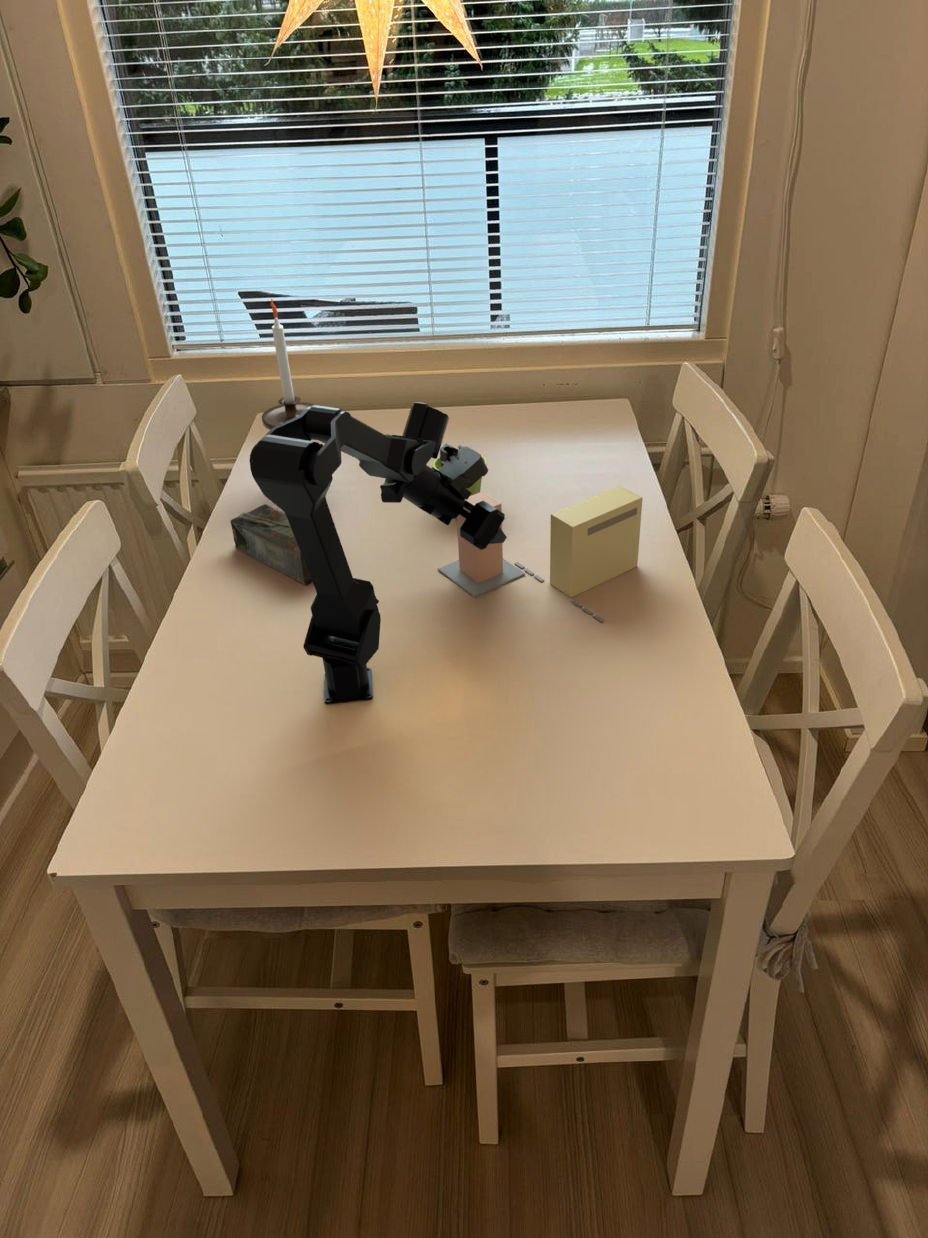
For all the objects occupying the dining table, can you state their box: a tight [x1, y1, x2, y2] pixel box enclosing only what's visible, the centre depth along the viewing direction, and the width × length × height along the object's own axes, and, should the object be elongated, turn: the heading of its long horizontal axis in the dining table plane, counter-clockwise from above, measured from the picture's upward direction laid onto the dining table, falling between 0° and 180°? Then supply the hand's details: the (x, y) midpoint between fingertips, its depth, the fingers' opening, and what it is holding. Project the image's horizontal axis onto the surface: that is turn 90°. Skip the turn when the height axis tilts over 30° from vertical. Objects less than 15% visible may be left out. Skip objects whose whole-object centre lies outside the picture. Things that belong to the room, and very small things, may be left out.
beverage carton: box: [230, 503, 313, 586], centre depth 154 cm, size 8×19×7 cm, turn 48°
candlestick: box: [261, 298, 316, 431], centre depth 167 cm, size 11×11×35 cm
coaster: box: [437, 558, 526, 598], centre depth 149 cm, size 10×10×1 cm
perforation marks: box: [514, 561, 605, 624], centre depth 144 cm, size 1×21×1 cm, turn 35°
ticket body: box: [549, 485, 643, 598], centre depth 144 cm, size 14×5×12 cm, turn 125°
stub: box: [456, 491, 504, 583], centre depth 145 cm, size 5×5×12 cm
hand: (486, 527), depth 145 cm, fingers open, 9 cm apart
